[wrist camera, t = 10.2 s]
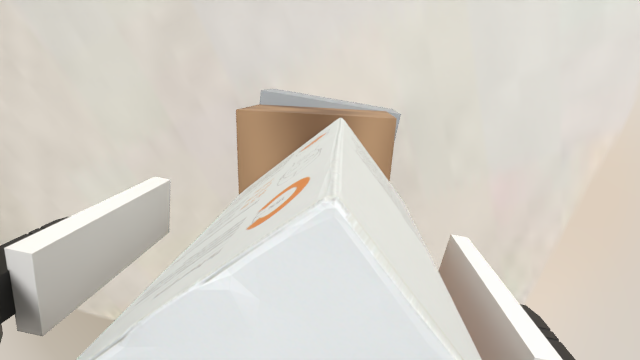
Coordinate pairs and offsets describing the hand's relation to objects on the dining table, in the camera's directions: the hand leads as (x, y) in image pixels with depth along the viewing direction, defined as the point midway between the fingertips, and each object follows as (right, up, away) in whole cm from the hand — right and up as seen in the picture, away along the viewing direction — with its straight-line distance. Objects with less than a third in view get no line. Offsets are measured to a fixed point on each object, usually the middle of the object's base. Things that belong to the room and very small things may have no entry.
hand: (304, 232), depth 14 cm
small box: (+1, +1, +4) cm, 5 cm away
